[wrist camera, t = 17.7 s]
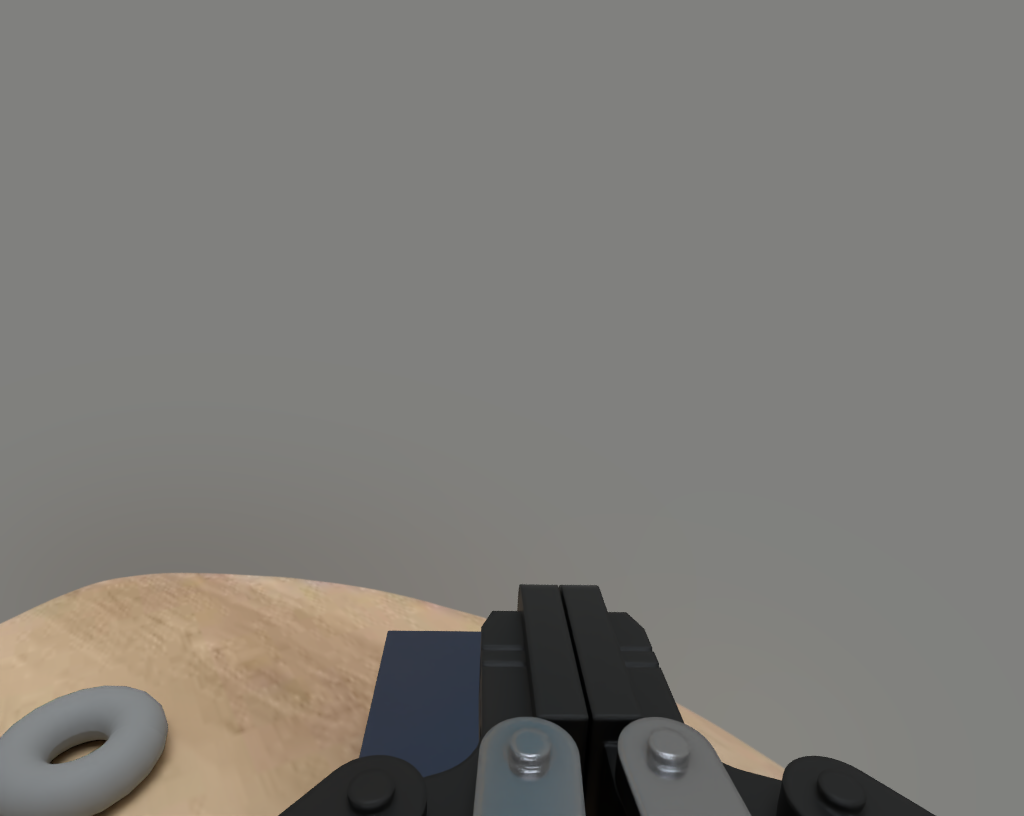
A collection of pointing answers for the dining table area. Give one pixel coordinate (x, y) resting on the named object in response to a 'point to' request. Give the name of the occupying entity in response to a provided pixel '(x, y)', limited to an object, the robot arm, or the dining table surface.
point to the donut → (90, 779)
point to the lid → (426, 699)
